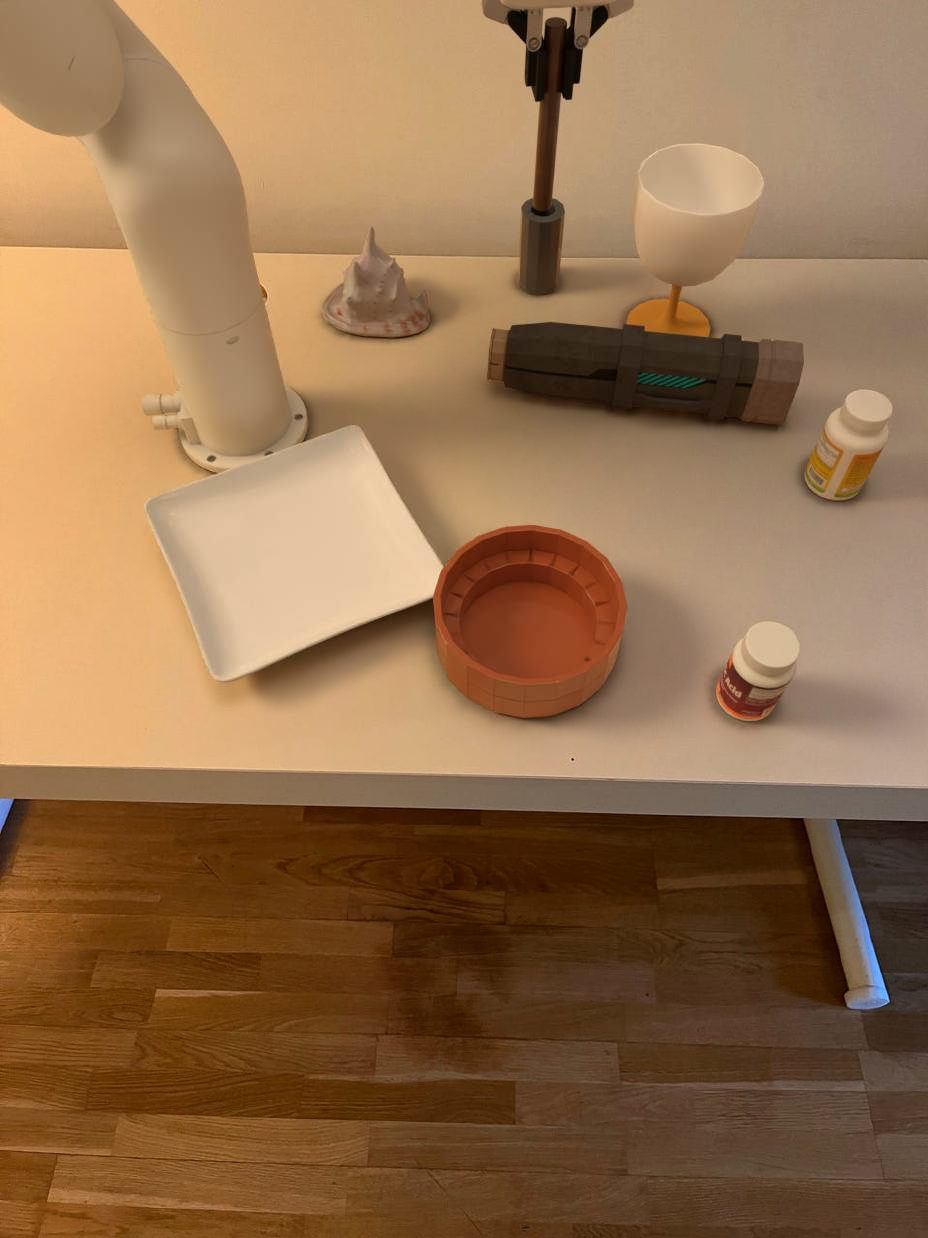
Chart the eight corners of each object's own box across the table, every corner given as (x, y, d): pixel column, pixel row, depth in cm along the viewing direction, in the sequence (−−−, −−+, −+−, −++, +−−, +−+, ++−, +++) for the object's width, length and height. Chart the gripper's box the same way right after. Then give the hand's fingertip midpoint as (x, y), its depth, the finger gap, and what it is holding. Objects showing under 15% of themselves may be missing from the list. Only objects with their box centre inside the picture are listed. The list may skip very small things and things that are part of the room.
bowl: (443, 727, 72) (440, 692, 67) (431, 573, 80) (428, 531, 75) (631, 712, 73) (642, 676, 68) (600, 561, 81) (608, 518, 76)
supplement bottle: (866, 469, 86) (907, 393, 78) (854, 509, 84) (895, 434, 76) (810, 452, 88) (844, 375, 80) (796, 491, 85) (830, 415, 77)
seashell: (346, 272, 104) (335, 195, 96) (445, 291, 102) (443, 214, 94) (312, 328, 98) (297, 252, 91) (416, 349, 96) (410, 274, 89)
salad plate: (223, 705, 73) (214, 685, 70) (149, 521, 83) (137, 497, 80) (457, 607, 78) (457, 584, 75) (360, 445, 89) (357, 419, 86)
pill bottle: (708, 673, 75) (733, 618, 68) (765, 669, 75) (795, 613, 68) (722, 725, 72) (749, 674, 65) (781, 720, 72) (814, 668, 65)
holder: (520, 296, 101) (524, 222, 93) (516, 270, 103) (519, 197, 96) (560, 293, 101) (567, 220, 94) (555, 268, 104) (561, 194, 96)
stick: (533, 211, 86) (545, 27, 72) (532, 199, 87) (544, 16, 73) (552, 210, 86) (568, 27, 72) (550, 199, 87) (566, 16, 73)
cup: (616, 288, 101) (639, 138, 87) (722, 296, 100) (763, 146, 86) (610, 359, 95) (634, 210, 81) (723, 369, 94) (768, 220, 80)
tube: (498, 376, 98) (789, 378, 92) (492, 430, 96) (789, 436, 90) (484, 310, 88) (809, 307, 82) (476, 369, 86) (809, 371, 80)
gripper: (672, -209, 64) (632, 65, 80) (451, -200, 64) (454, 75, 79) (698, -171, 60) (651, 110, 76) (462, -161, 59) (463, 121, 75)
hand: (551, 90), depth 77 cm, fingers closed on stick, 1 cm apart
